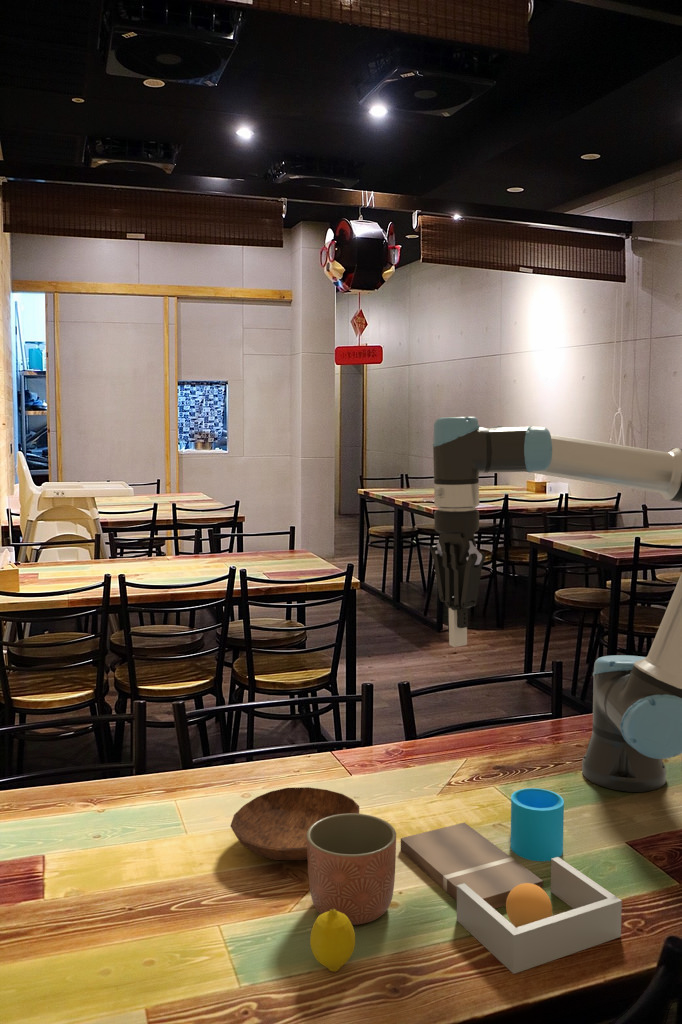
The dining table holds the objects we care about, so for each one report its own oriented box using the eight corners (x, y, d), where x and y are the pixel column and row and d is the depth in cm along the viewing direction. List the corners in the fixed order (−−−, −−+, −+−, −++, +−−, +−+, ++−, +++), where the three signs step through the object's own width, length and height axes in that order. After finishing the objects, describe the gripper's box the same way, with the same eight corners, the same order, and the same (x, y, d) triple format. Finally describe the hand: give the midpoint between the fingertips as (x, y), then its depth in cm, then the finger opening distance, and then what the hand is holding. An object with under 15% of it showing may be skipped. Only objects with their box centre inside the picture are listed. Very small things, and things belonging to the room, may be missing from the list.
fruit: (340, 950, 109) (339, 890, 108) (364, 973, 104) (363, 911, 103) (302, 965, 106) (301, 904, 105) (325, 989, 101) (325, 926, 100)
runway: (464, 834, 139) (464, 822, 139) (542, 894, 121) (543, 880, 121) (400, 850, 134) (400, 838, 134) (472, 915, 116) (472, 901, 116)
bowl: (379, 827, 142) (379, 798, 142) (321, 893, 122) (321, 860, 122) (276, 806, 150) (276, 778, 150) (206, 864, 131) (205, 833, 130)
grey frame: (557, 889, 123) (558, 856, 122) (620, 936, 111) (621, 900, 111) (456, 920, 115) (456, 885, 115) (513, 973, 104) (514, 935, 103)
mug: (573, 857, 132) (574, 806, 131) (525, 864, 130) (526, 813, 129) (535, 822, 143) (536, 776, 142) (491, 829, 141) (491, 781, 140)
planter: (408, 895, 121) (408, 822, 120) (376, 943, 110) (376, 863, 109) (330, 877, 127) (329, 806, 125) (291, 921, 115) (290, 844, 114)
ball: (526, 887, 118) (542, 869, 114) (550, 929, 114) (568, 912, 110) (491, 902, 115) (506, 884, 111) (515, 946, 112) (531, 929, 108)
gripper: (416, 507, 148) (418, 640, 150) (461, 513, 136) (463, 656, 139) (452, 504, 151) (453, 634, 154) (498, 509, 140) (499, 650, 142)
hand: (458, 644), depth 146 cm, fingers closed
